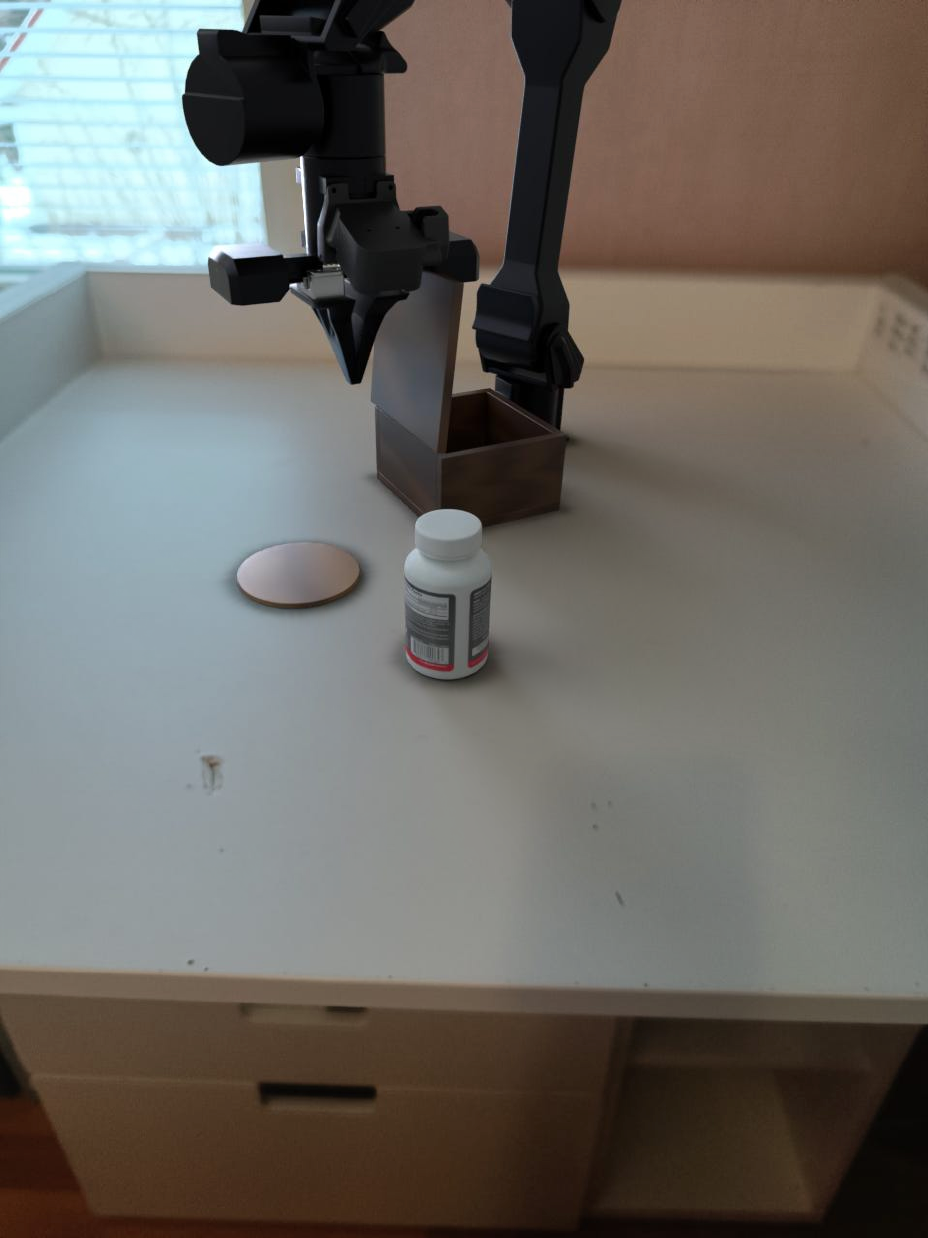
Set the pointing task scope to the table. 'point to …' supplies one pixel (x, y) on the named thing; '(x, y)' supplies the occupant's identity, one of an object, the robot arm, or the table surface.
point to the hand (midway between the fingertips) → (353, 382)
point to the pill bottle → (447, 596)
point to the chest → (476, 461)
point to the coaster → (298, 575)
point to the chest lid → (419, 358)
